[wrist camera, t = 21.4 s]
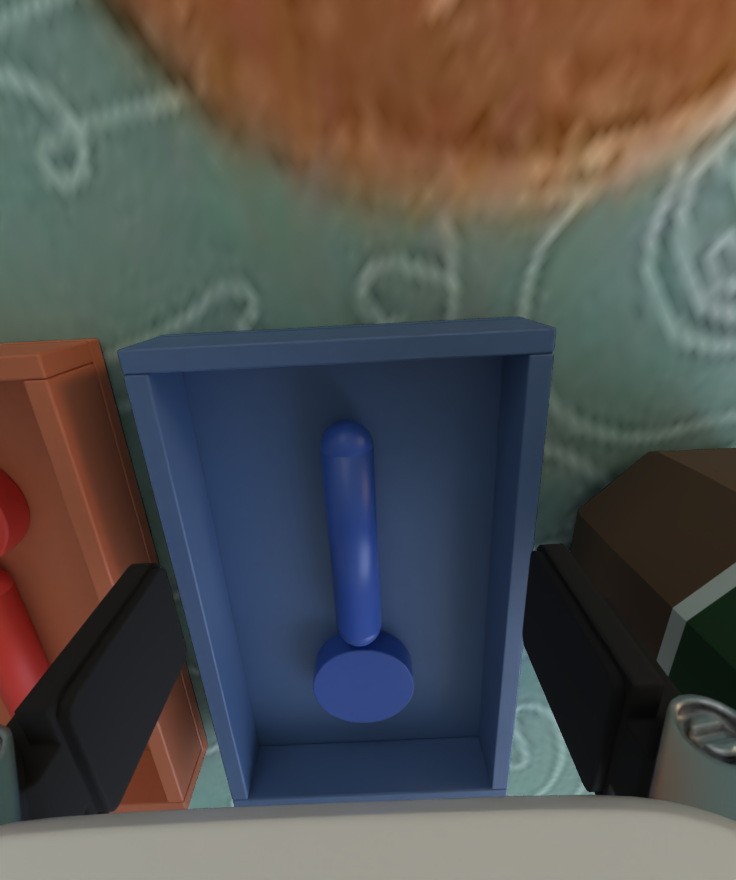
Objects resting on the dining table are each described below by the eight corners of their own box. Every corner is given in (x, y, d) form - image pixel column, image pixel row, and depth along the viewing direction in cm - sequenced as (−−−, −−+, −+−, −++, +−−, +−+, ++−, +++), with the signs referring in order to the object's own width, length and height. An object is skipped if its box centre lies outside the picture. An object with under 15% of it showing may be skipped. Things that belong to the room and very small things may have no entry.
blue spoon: (284, 416, 13) (275, 433, 11) (407, 410, 13) (412, 427, 11) (320, 700, 17) (316, 739, 16) (411, 696, 17) (416, 734, 16)
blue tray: (161, 334, 12) (115, 349, 10) (521, 316, 12) (557, 327, 10) (250, 743, 19) (234, 810, 16) (489, 732, 19) (507, 799, 16)
